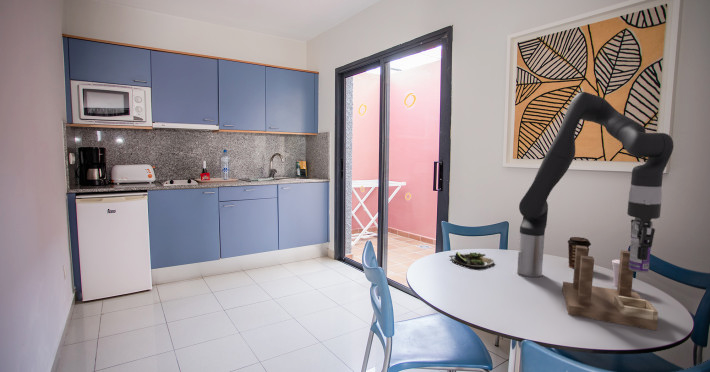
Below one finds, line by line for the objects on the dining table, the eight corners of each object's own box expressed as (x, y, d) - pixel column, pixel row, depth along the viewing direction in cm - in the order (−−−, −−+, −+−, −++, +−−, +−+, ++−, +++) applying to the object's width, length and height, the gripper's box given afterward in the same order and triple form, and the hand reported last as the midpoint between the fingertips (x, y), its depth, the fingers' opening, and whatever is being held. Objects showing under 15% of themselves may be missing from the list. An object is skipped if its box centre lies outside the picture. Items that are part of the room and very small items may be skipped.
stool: (568, 314, 111) (572, 259, 109) (562, 289, 131) (565, 242, 129) (656, 330, 101) (662, 270, 99) (635, 300, 121) (640, 250, 119)
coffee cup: (588, 266, 156) (591, 238, 155) (589, 272, 149) (591, 242, 148) (566, 263, 161) (568, 235, 159) (565, 268, 154) (567, 239, 152)
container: (644, 268, 107) (648, 220, 106) (651, 273, 103) (656, 223, 101) (626, 266, 109) (630, 219, 107) (632, 271, 104) (636, 222, 103)
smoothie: (634, 290, 130) (638, 254, 128) (615, 289, 131) (618, 252, 129) (624, 284, 136) (628, 249, 134) (606, 282, 137) (609, 248, 136)
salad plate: (470, 253, 175) (470, 244, 175) (503, 263, 161) (503, 253, 160) (444, 260, 164) (444, 251, 164) (476, 271, 150) (477, 261, 149)
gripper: (622, 197, 111) (618, 249, 113) (635, 203, 99) (630, 262, 101) (652, 198, 108) (647, 252, 110) (669, 205, 95) (663, 266, 97)
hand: (639, 256), depth 105 cm, fingers closed on container, 4 cm apart
